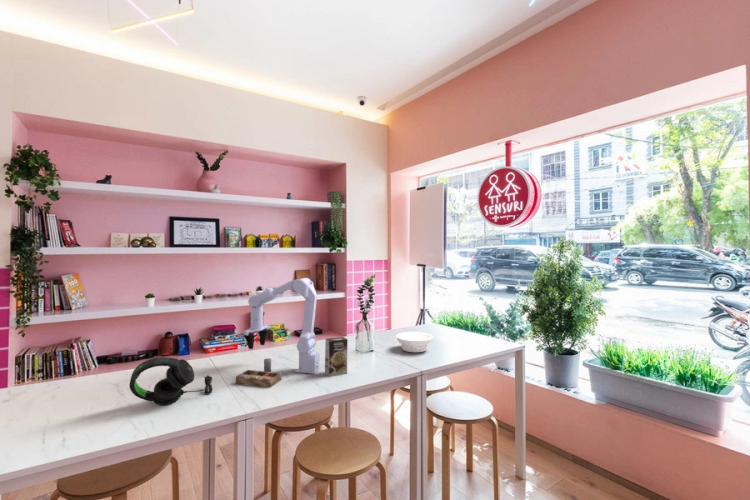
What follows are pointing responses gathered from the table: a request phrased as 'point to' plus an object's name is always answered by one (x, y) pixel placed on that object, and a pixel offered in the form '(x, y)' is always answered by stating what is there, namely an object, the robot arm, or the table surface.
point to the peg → (267, 365)
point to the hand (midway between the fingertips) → (256, 346)
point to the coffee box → (336, 356)
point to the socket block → (258, 378)
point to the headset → (167, 381)
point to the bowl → (414, 341)
